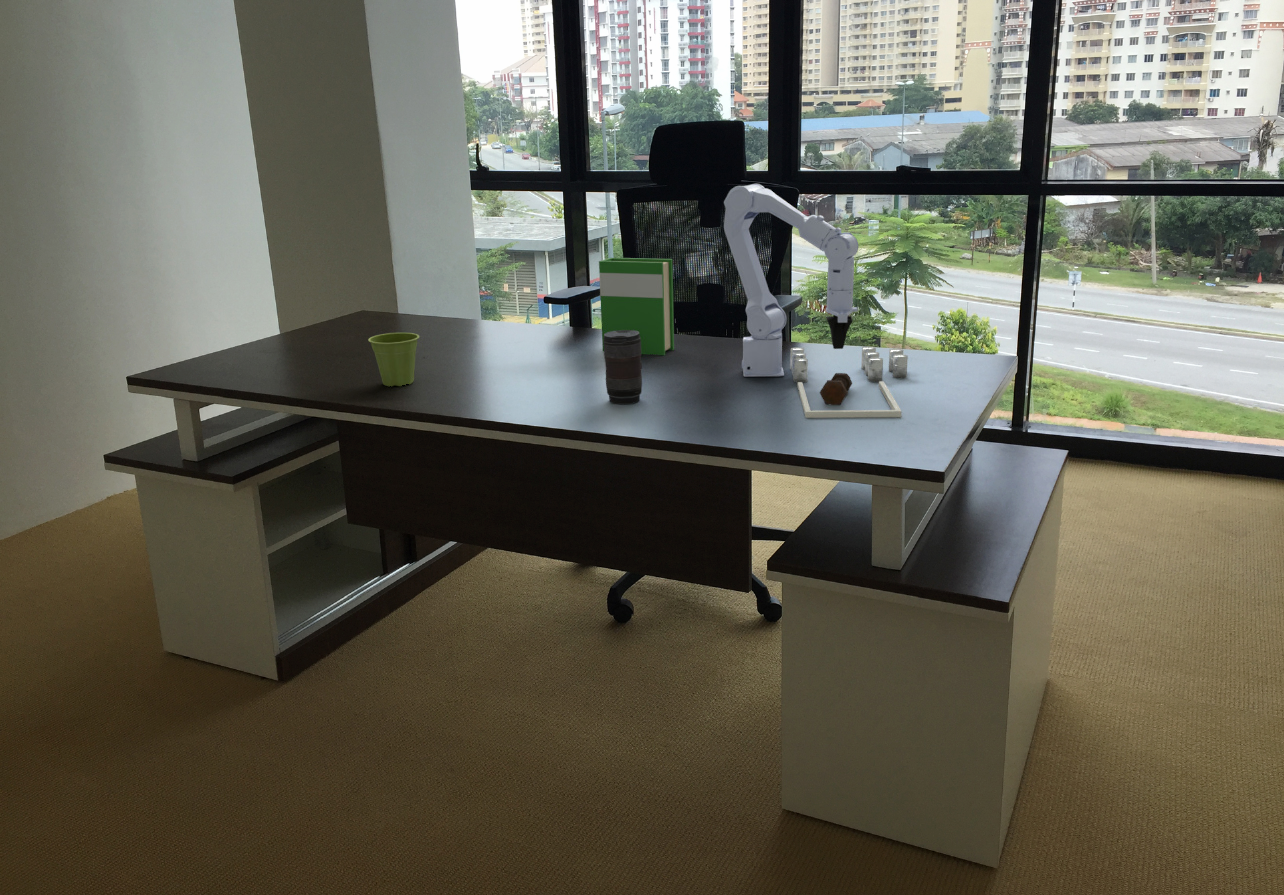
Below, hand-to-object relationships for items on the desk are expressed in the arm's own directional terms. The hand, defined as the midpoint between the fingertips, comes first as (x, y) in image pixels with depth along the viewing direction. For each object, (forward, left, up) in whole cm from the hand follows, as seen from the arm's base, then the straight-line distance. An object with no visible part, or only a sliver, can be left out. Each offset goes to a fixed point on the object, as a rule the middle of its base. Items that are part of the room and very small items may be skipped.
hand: (838, 348), depth 233 cm
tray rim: (0, -18, -8) cm, 20 cm away
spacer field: (+3, +6, -8) cm, 10 cm away
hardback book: (-49, +36, -8) cm, 61 cm away
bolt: (-1, -14, -8) cm, 16 cm away
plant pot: (-104, +1, -8) cm, 104 cm away
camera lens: (-48, -16, -8) cm, 51 cm away
